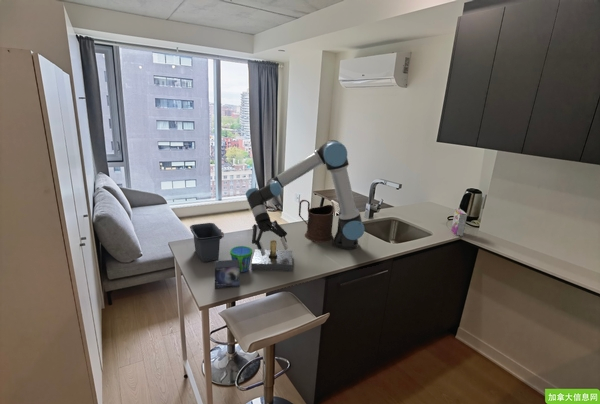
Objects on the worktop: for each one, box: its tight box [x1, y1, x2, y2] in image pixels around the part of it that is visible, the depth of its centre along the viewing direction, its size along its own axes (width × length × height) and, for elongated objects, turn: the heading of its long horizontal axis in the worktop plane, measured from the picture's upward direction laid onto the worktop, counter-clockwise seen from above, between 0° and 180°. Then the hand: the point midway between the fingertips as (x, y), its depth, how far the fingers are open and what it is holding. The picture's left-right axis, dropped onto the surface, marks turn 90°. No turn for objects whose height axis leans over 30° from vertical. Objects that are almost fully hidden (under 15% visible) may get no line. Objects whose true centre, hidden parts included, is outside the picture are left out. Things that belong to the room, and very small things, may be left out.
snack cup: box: [229, 245, 253, 274], centre depth 148 cm, size 16×10×10 cm
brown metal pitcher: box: [298, 199, 335, 243], centre depth 192 cm, size 18×24×25 cm
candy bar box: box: [451, 208, 468, 237], centre depth 215 cm, size 11×5×16 cm, turn 171°
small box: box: [214, 259, 240, 290], centre depth 134 cm, size 11×6×10 cm, turn 105°
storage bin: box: [189, 222, 225, 263], centre depth 160 cm, size 21×16×14 cm
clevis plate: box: [250, 248, 293, 272], centre depth 157 cm, size 20×16×4 cm
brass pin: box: [269, 239, 277, 259], centre depth 156 cm, size 3×3×12 cm
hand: (275, 251), depth 154 cm, fingers open, 13 cm apart
